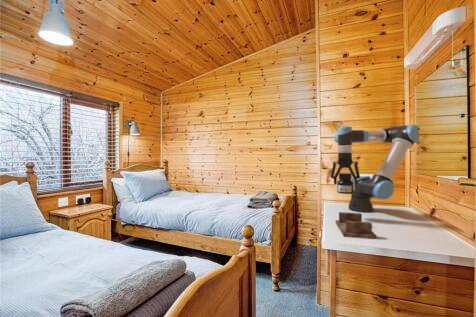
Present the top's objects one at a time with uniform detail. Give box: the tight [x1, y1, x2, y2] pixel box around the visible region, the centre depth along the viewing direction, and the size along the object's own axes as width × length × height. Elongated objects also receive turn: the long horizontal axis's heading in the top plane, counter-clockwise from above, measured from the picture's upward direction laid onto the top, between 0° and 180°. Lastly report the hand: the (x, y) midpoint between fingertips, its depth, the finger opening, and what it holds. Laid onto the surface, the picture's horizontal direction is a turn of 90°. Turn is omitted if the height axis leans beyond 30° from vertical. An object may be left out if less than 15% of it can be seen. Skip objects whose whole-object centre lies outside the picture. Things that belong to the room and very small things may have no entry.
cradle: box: [335, 211, 377, 240], centre depth 120 cm, size 14×22×6 cm, turn 167°
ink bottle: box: [336, 172, 353, 195], centre depth 141 cm, size 10×9×12 cm
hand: (345, 189), depth 141 cm, fingers closed on ink bottle, 9 cm apart
